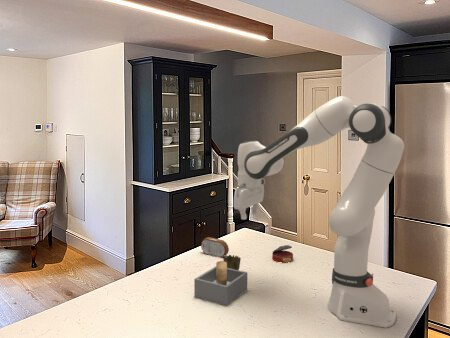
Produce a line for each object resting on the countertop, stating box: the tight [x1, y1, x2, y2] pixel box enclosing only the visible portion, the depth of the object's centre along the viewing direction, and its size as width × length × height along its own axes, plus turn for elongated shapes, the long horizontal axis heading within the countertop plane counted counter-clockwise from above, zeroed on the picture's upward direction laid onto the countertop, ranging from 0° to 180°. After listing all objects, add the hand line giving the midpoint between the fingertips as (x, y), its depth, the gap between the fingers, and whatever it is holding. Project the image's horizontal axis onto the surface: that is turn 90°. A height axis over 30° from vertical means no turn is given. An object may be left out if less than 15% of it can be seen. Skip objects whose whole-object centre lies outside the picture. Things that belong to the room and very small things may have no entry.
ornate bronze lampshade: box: [222, 254, 241, 271], centre depth 166 cm, size 8×7×8 cm
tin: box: [200, 236, 230, 258], centre depth 192 cm, size 15×3×8 cm, turn 58°
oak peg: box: [215, 260, 227, 285], centre depth 149 cm, size 4×4×12 cm
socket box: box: [193, 265, 248, 307], centre depth 149 cm, size 14×16×7 cm
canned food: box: [271, 244, 294, 264], centre depth 186 cm, size 11×10×10 cm
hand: (249, 216), depth 155 cm, fingers open, 8 cm apart
